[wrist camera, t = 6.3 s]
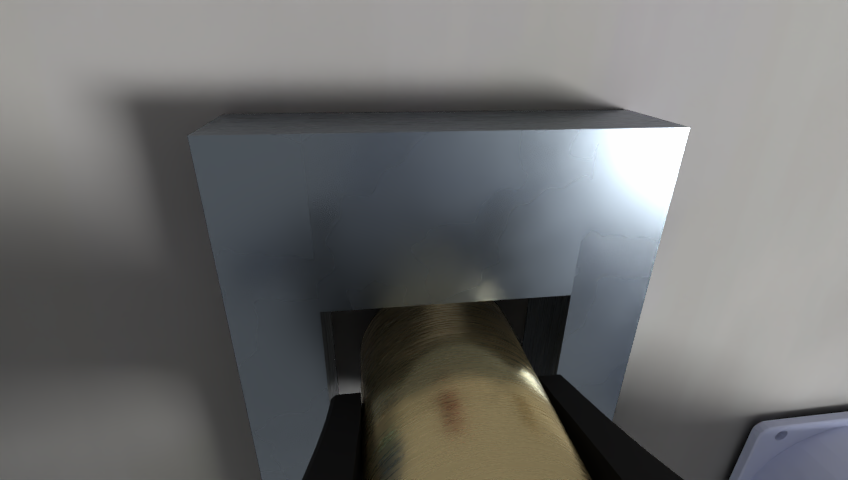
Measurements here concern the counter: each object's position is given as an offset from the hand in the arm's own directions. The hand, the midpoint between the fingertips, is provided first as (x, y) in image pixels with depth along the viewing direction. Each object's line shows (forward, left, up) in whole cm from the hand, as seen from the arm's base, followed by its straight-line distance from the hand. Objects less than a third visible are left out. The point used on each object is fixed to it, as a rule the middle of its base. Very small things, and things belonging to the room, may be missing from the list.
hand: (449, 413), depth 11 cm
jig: (0, 0, -3) cm, 3 cm away
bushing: (0, 0, -2) cm, 2 cm away
